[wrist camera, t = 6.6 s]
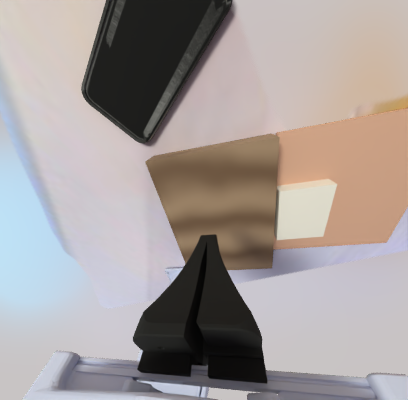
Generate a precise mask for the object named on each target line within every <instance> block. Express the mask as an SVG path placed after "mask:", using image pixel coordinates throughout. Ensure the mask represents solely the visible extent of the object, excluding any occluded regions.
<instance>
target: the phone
mask: <svg viewBox="0 0 408 400" xmlns="http://www.w3.org/2000/svg"><path fill="white" fill-rule="evenodd" d="M231 4H232V0H106V3H105V7H104V10H103V13H102V17H101V20H100V24H99V27H98V31H97V34H96V38H95V41H94V45H93V48H92V51H91V55H90V58H89V62H88V65H87V69H86V72H85V76H84V79H83V82H82V87H81V90H82V94H83V97H84V98H85V100H86V101H87V102H88V103H89V104H90V105H91V106H92V107H93V108H95V109H96V110H97V111H99V112H100V113H101V114H102V115H104V116H105V117H106V118H107V119H109V120H110V121H111V122H113V123H114V124H115V125H116V126H118V127H119V128H120V129H121V130H123V131H124V132H125V133H127V134H128V135H129V136H130V137H132V138H133V139H134V140H135V141H137V142H139V143H146V142H148V141H150V140H151V139H152V138H153V136H154V134H155V133H156V131H157V129H158V128H159V126H160V124H161V123H162V121H163V119H164V118H165V116H166V114H167V113H168V111H169V109H170V108H171V106H172V104H173V103H174V101H175V99H176V98H177V96H178V94H179V93H180V91H181V89H182V88H183V86H184V84H185V83H186V81H187V79H188V78H189V76H190V75H191V73H192V71H193V70H194V68H195V66H196V65H197V63H198V61H199V60H200V58H201V56H202V55H203V53H204V51H205V50H206V48H207V46H208V45H209V43H210V41H211V40H212V38H213V36H214V35H215V33H216V31H217V30H218V28H219V26H220V25H221V23H222V21H223V20H224V18H225V16H226V15H227V13H228V11H229V9H230V7H231Z"/></svg>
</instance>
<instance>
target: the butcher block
mask: <svg viewBox="0 0 408 400" xmlns="http://www.w3.org/2000/svg"><path fill="white" fill-rule="evenodd" d="M279 139H280V137H278V136H276V135H273V134H267V135H262V136H257V137H251V138H246V139H241V140H236V141H230V142H225V143H220V144H215V145H209V146H204V147H199V148H193V149H188V150H183V151H178V152H172V153H167V154H162V155H156V156H153V157H152V158H150V159H149V160H147V161H146V165H147V167H148V170H149V172H150V175H151V178H152V180H153V183H154V185H155V188H156V190H157V193H158V195H159V198H160V200H161V203H162V205H163V208H164V210H165V213H166V215H167V218H168V220H169V223H170V225H171V228H172V230H173V233H174V235H175V238H176V240H177V243H178V245H179V248H180V251H181V253H182V256H183V258H184V261H185V263H187V261H188V259H189V258H190V256H191V254H192V253H193V251H194V249H195V247H196V245H197V243H198V241H199V238H200V236H201V235H212V234H216V235H217V240H218V245H219V251H220V254H221V257H222V260H223V262H224V265H225V267H226V269H227V270H243V269H267V268H272V262H273V244H274V226H275V209H276V191H277V174H278V156H279Z"/></svg>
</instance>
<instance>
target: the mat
mask: <svg viewBox="0 0 408 400" xmlns="http://www.w3.org/2000/svg"><path fill="white" fill-rule="evenodd" d="M276 136H278V137H280V139H279V156H278V174H277V186H280V185H288V184H295V183H302V182H309V181H316V180H324V179H330V180H332V181H333V182H335V183H336V184H337V187H336V191H335V195H334V198H333V202H332V206H331V210H330V213H329V217H328V221H327V224H326V228H325V232H324V236H323V237H311V238H298V239H285V240H277V239H276V237H275V235H274V244H273V250H275V249H291V248H307V247H323V246H339V245H355V244H371V243H387V241H388V239H389V237H390V236H391V234H392V232H393V231H394V229H395V227H396V226H397V224H398V222H399V221H400V219H401V217H402V215H403V214H404V212H405V210H406V209H407V207H408V108H405V109H399V110H394V111H389V112H383V113H378V114H373V115H368V116H362V117H357V118H352V119H347V120H341V121H336V122H331V123H325V124H320V125H315V126H310V127H304V128H299V129H294V130H289V131H283V132H278V133H276Z"/></svg>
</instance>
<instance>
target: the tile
mask: <svg viewBox="0 0 408 400" xmlns="http://www.w3.org/2000/svg"><path fill="white" fill-rule="evenodd" d="M336 187H337V184H336V183H335V182H333V181H332V180H330V179H324V180H316V181H309V182H302V183H295V184H288V185H280V186H277V191H276V209H275V226H274V235H275V237H276V239H277V240H285V239H298V238H311V237H323V236H324V232H325V228H326V224H327V221H328V217H329V213H330V210H331V206H332V202H333V198H334V195H335V191H336Z"/></svg>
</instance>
